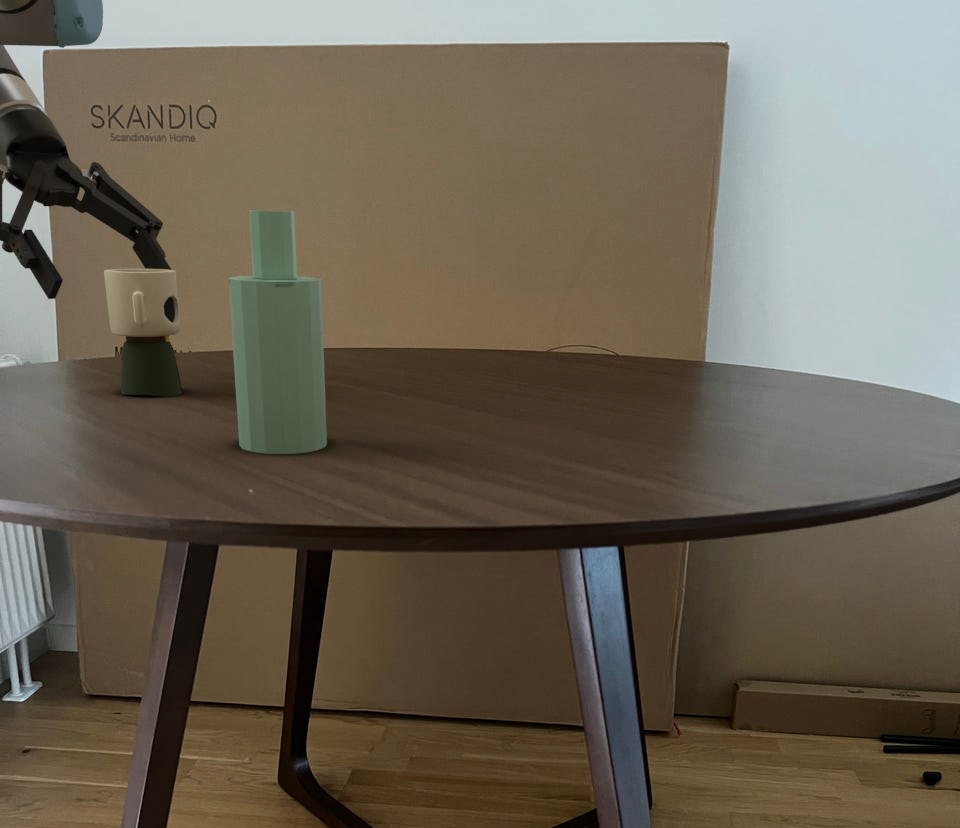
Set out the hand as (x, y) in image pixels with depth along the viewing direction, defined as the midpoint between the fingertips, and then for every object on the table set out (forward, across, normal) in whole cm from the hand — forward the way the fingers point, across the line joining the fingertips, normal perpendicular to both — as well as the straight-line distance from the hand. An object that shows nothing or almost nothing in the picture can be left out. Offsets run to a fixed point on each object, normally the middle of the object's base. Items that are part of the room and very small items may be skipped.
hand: (114, 287), depth 109 cm
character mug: (+11, 0, -4) cm, 12 cm away
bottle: (+32, +8, +17) cm, 38 cm away
